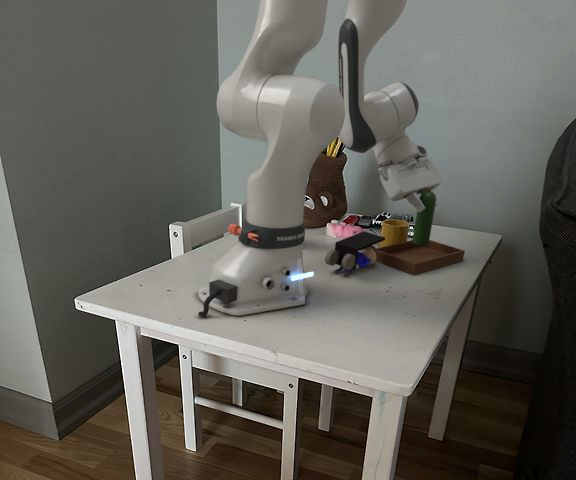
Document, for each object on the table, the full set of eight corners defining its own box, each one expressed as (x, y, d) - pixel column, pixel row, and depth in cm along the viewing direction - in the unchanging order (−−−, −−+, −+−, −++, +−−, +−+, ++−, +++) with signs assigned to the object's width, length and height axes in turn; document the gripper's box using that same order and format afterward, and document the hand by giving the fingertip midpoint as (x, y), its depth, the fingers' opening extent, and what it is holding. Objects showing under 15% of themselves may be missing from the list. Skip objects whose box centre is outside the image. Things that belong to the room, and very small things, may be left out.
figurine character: (347, 286, 121) (384, 264, 130) (348, 254, 116) (386, 233, 126) (323, 279, 125) (360, 258, 134) (323, 247, 120) (362, 227, 129)
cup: (394, 251, 141) (397, 227, 138) (373, 244, 145) (376, 221, 142) (411, 247, 145) (415, 224, 142) (391, 240, 149) (394, 218, 146)
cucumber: (421, 246, 133) (431, 190, 126) (408, 242, 136) (417, 187, 129) (431, 243, 135) (441, 188, 129) (419, 239, 138) (428, 185, 131)
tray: (413, 275, 126) (415, 264, 124) (371, 259, 134) (372, 249, 133) (462, 260, 136) (465, 250, 135) (420, 247, 145) (422, 237, 144)
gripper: (385, 154, 122) (417, 207, 122) (428, 147, 136) (457, 195, 135) (366, 172, 127) (396, 223, 126) (410, 163, 140) (437, 210, 140)
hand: (428, 208), depth 131 cm, fingers closed on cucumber, 4 cm apart
